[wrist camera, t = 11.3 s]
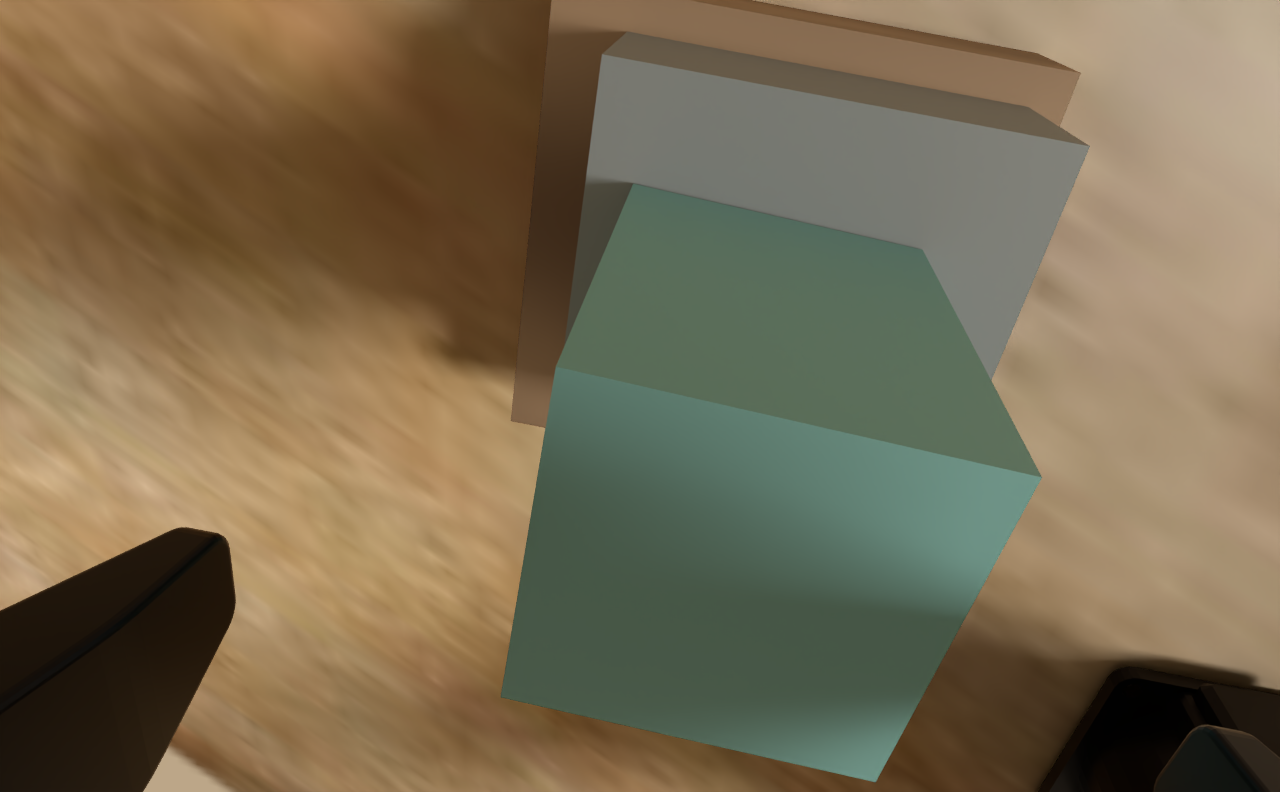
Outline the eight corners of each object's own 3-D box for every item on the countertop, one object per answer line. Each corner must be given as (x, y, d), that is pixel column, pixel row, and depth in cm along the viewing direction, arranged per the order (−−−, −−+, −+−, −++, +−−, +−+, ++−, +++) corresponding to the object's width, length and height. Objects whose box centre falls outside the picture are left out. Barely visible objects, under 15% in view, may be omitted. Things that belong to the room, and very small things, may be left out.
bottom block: (890, 428, 21) (910, 499, 19) (539, 360, 21) (510, 420, 19) (1028, 49, 17) (1080, 72, 14) (583, -33, 17) (553, -25, 14)
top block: (900, 444, 18) (927, 532, 15) (578, 381, 18) (549, 457, 15) (1027, 106, 15) (1089, 145, 12) (627, 30, 15) (601, 53, 12)
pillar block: (831, 484, 15) (875, 781, 10) (585, 427, 15) (500, 696, 10) (922, 249, 13) (1041, 476, 8) (632, 184, 13) (555, 367, 8)
